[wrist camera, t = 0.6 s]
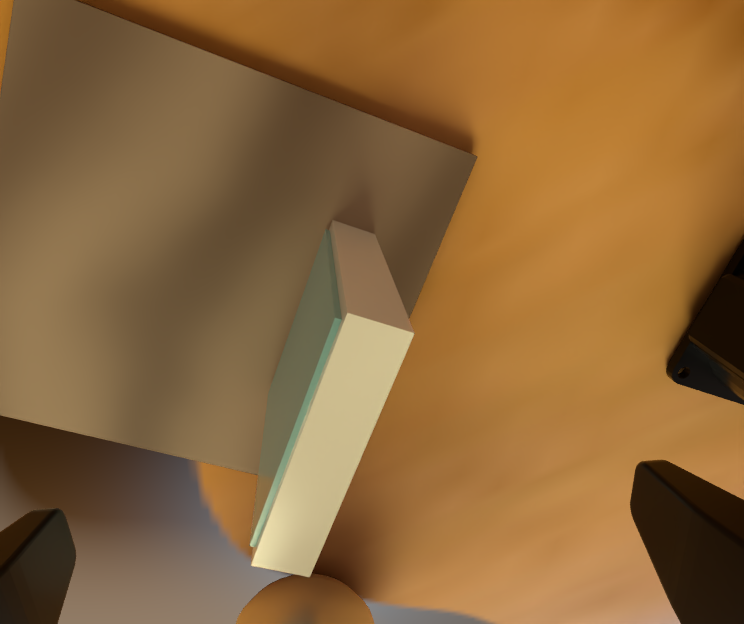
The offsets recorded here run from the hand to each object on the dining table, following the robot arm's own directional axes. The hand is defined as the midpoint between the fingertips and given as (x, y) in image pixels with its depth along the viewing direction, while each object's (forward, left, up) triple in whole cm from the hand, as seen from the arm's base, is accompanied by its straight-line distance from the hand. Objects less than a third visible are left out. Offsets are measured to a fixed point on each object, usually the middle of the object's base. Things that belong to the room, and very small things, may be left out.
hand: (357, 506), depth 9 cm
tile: (0, +2, -12) cm, 12 cm away
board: (+4, +2, -12) cm, 13 cm away
